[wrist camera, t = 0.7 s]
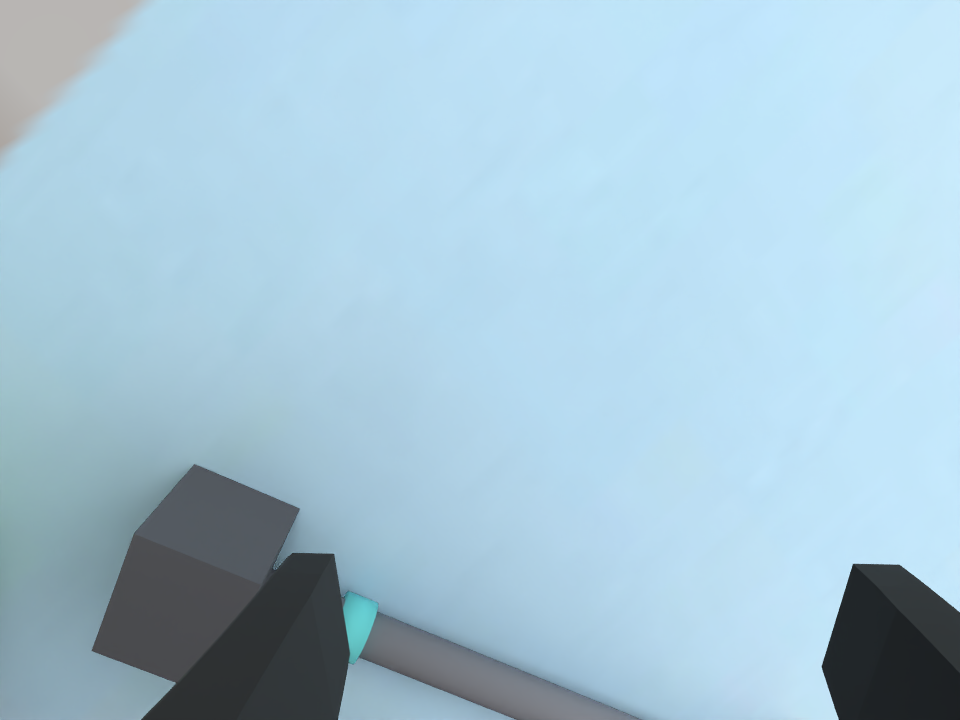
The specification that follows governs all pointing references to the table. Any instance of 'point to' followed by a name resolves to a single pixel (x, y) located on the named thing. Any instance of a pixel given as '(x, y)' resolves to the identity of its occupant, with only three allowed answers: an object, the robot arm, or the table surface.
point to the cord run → (242, 573)
